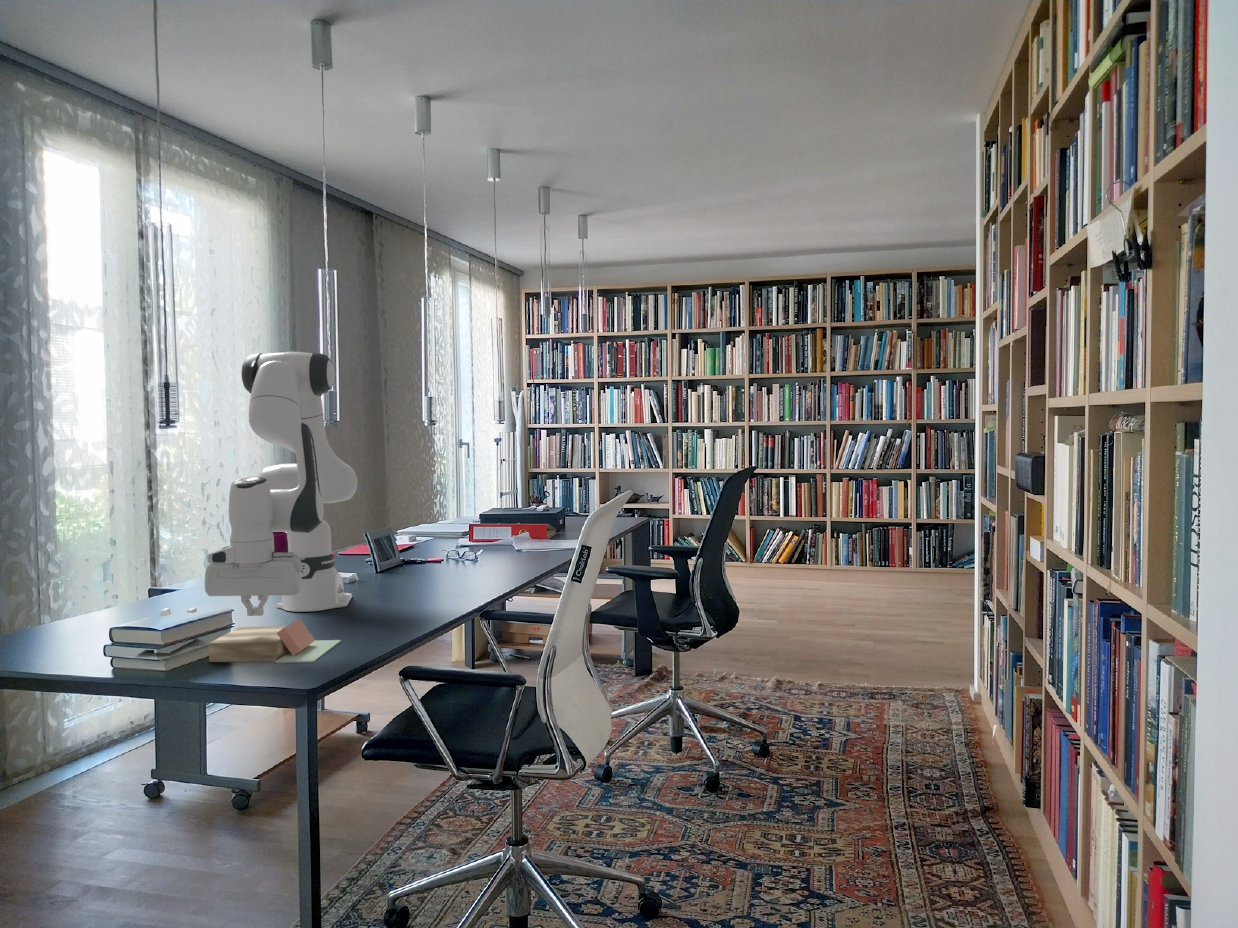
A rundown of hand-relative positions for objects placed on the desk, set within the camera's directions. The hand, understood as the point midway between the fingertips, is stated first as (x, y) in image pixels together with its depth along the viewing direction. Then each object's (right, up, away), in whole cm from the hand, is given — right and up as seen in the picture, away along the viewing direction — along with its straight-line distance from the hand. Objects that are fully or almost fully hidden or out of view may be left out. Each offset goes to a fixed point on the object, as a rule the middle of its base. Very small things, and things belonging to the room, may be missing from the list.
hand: (255, 615), depth 197 cm
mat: (+12, -8, 0) cm, 14 cm away
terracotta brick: (+8, -5, -1) cm, 10 cm away
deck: (0, -8, 0) cm, 8 cm away
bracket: (-22, -9, +7) cm, 25 cm away
